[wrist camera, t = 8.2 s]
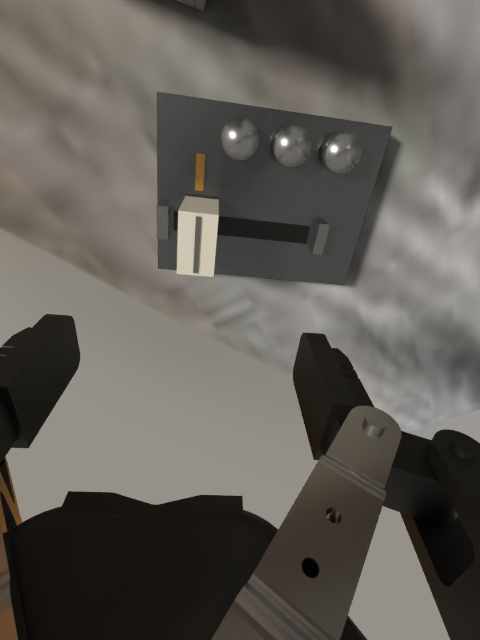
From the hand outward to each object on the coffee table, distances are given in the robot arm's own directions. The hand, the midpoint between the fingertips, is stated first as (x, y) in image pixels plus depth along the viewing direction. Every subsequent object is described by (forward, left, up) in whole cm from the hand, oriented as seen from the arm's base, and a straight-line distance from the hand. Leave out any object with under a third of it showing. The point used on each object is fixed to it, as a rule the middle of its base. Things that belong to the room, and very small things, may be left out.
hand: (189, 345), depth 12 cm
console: (-4, -2, -18) cm, 18 cm away
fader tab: (0, 0, -15) cm, 15 cm away
